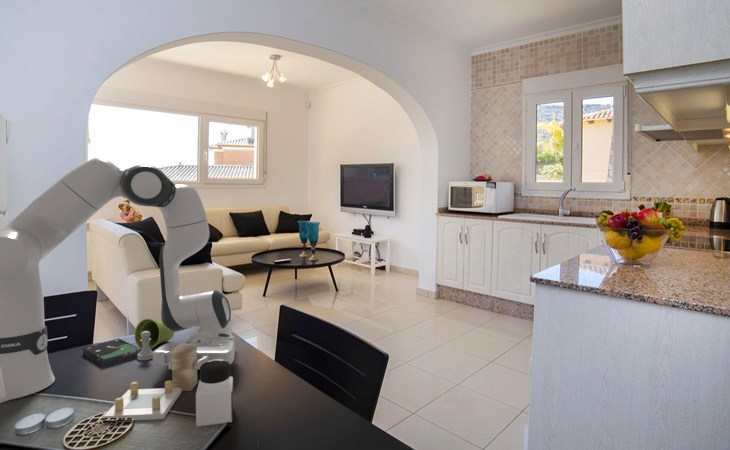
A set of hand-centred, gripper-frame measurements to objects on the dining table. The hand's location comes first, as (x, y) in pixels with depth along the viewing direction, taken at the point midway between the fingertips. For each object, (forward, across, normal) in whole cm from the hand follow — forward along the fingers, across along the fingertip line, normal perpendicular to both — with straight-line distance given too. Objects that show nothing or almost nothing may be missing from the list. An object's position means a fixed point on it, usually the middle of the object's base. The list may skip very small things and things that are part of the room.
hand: (183, 366), depth 102 cm
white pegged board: (+9, -5, +6) cm, 11 cm away
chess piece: (-19, -19, +6) cm, 27 cm away
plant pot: (-34, -19, +3) cm, 39 cm away
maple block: (-1, 0, +6) cm, 6 cm away
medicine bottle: (+13, +12, +6) cm, 19 cm away
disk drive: (-21, -29, +6) cm, 37 cm away
